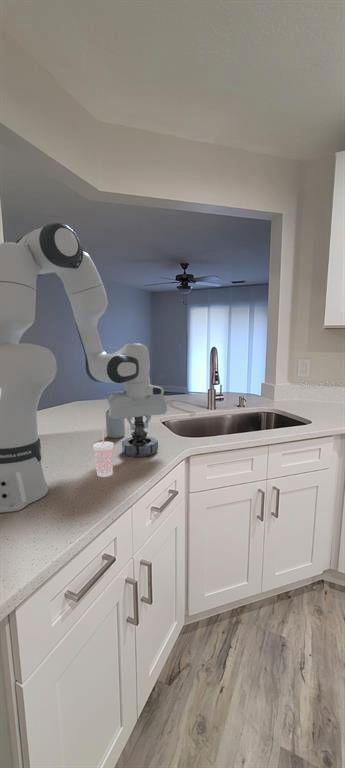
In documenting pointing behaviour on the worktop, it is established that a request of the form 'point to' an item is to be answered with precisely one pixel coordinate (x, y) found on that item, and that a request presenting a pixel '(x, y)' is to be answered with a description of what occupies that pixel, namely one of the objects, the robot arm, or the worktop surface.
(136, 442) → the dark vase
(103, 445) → the beverage cup
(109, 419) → the can
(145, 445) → the metal ring collar
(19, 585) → the worktop surface
